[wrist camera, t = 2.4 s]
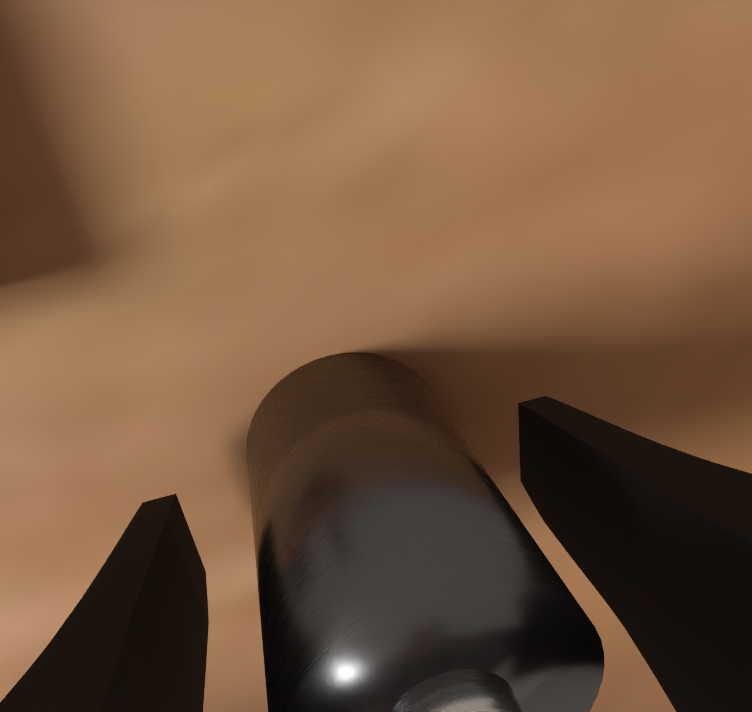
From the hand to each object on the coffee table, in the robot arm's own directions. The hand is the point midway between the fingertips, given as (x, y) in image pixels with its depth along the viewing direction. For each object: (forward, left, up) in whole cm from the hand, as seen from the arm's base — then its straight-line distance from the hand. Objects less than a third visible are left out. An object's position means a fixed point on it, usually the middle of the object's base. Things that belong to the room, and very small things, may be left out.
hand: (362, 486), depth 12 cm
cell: (0, 0, -2) cm, 2 cm away
